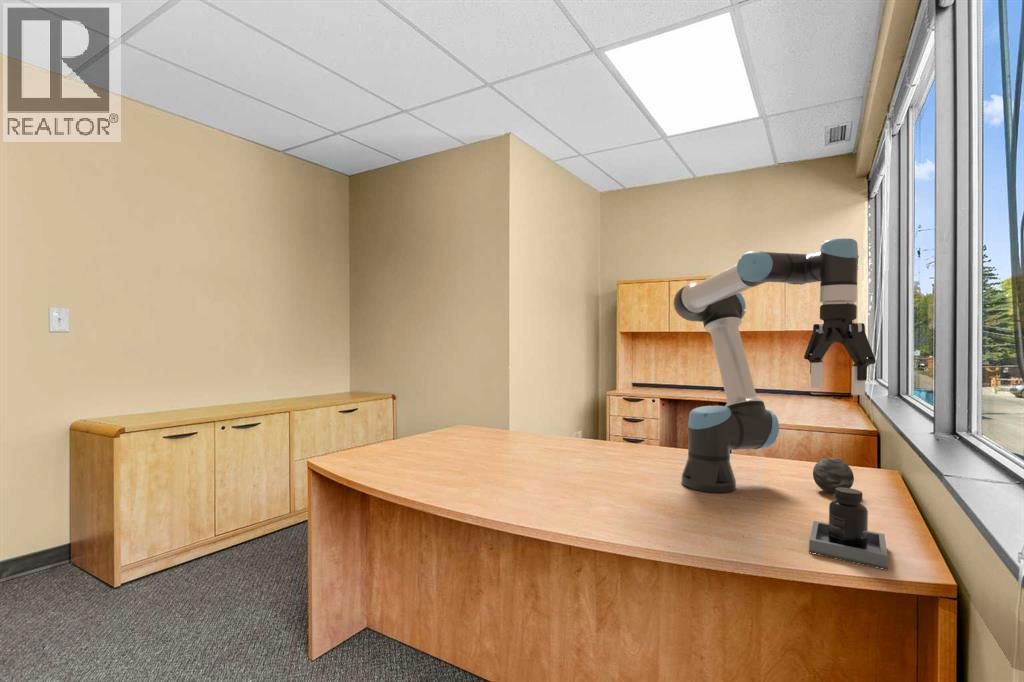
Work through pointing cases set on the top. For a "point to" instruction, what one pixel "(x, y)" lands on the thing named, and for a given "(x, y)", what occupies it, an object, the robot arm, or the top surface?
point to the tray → (849, 547)
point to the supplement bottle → (848, 519)
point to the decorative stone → (832, 475)
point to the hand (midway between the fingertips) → (836, 391)
